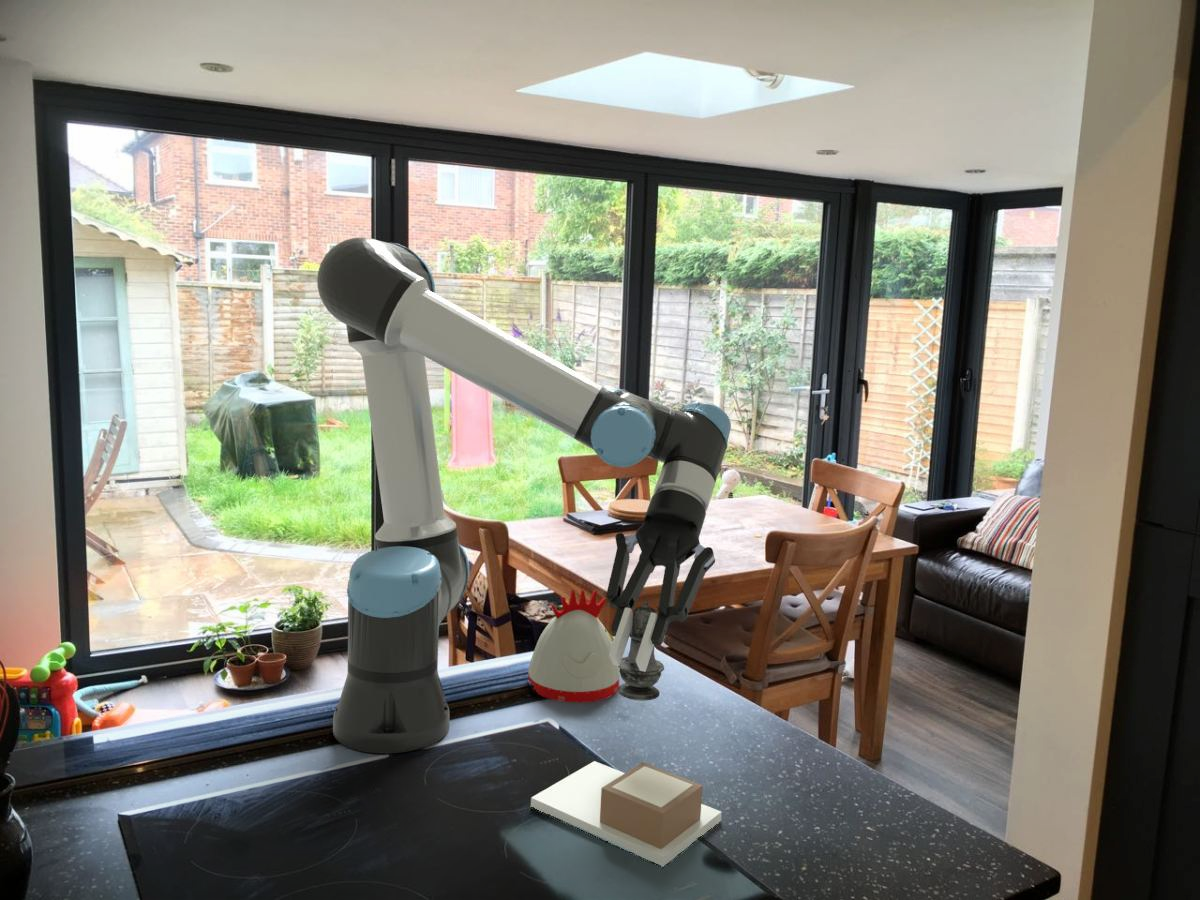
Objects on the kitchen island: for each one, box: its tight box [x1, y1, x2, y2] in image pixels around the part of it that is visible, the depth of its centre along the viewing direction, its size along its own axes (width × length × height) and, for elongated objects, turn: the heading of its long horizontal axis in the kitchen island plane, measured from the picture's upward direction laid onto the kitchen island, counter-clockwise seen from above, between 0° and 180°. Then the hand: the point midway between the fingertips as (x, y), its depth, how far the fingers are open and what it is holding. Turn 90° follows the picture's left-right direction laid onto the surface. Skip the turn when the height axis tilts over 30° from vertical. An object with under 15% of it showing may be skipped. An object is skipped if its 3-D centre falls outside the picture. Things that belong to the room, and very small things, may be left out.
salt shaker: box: [617, 599, 665, 702], centre depth 118 cm, size 6×6×12 cm
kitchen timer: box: [527, 588, 620, 703], centre depth 144 cm, size 14×14×15 cm
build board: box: [530, 760, 722, 866], centre depth 108 cm, size 18×12×5 cm, turn 53°
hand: (627, 663), depth 113 cm, fingers closed on salt shaker, 3 cm apart
